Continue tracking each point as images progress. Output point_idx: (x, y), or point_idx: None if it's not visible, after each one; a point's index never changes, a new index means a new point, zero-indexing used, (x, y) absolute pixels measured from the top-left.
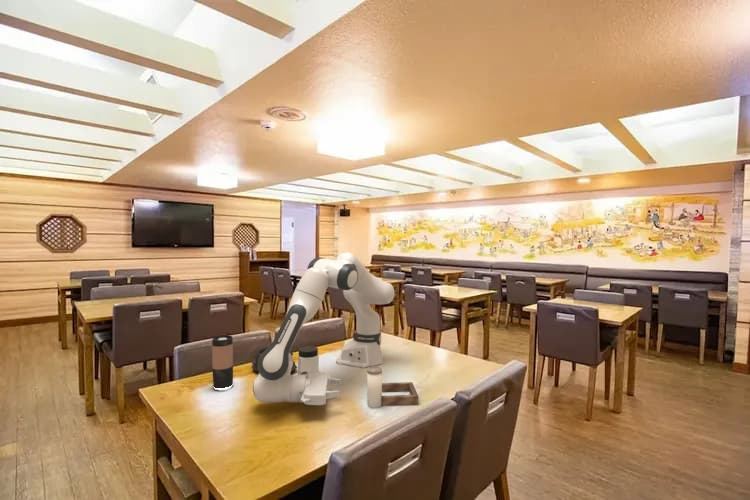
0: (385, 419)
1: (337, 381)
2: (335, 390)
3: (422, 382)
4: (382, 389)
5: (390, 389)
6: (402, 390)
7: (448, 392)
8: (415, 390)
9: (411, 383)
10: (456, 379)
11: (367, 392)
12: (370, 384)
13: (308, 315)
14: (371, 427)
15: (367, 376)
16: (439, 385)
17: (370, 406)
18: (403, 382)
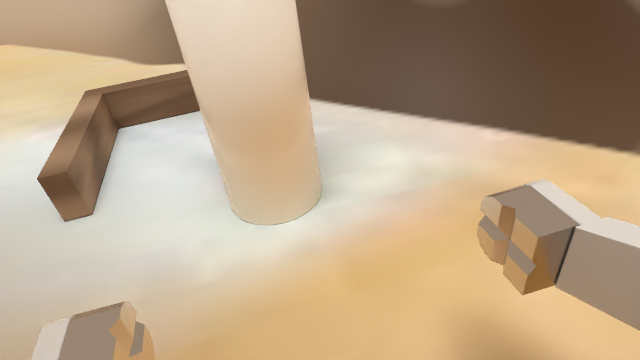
0: (426, 128)
1: (125, 349)
2: (559, 223)
3: (32, 117)
4: (87, 188)
5: (97, 163)
6: (110, 138)
7: (154, 66)
8: (186, 70)
9: (101, 89)
10: (51, 70)
11: (276, 140)
12: (295, 49)
13: None
14: (541, 145)
15: (250, 3)
16: (86, 85)
17: (317, 195)
18: (77, 107)
